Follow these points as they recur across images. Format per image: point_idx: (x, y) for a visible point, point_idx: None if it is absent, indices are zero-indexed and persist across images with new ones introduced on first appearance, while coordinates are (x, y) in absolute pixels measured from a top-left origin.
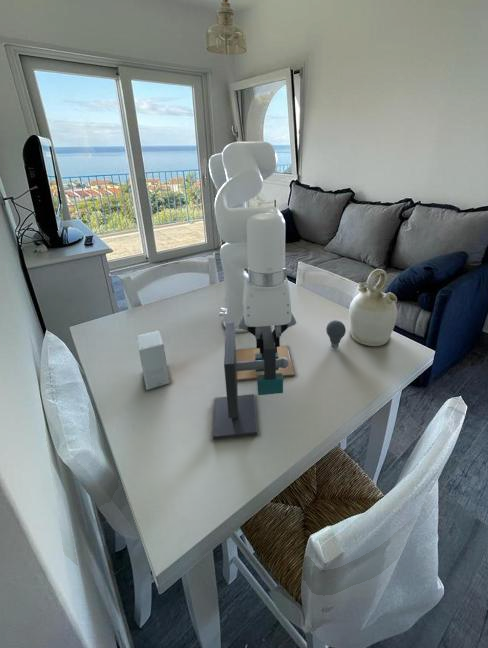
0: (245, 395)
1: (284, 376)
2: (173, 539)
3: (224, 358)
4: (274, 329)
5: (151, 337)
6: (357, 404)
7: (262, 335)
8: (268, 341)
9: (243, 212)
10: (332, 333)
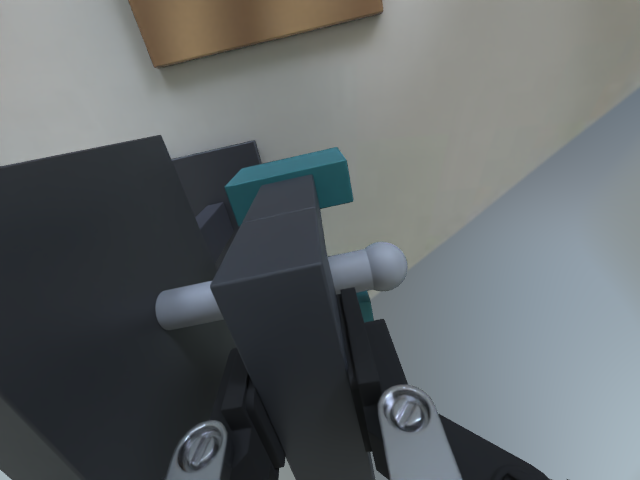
0: (228, 149)
1: (344, 22)
2: None
3: None
4: (380, 443)
5: None
6: (549, 142)
7: (269, 438)
8: (326, 457)
9: None
10: None
